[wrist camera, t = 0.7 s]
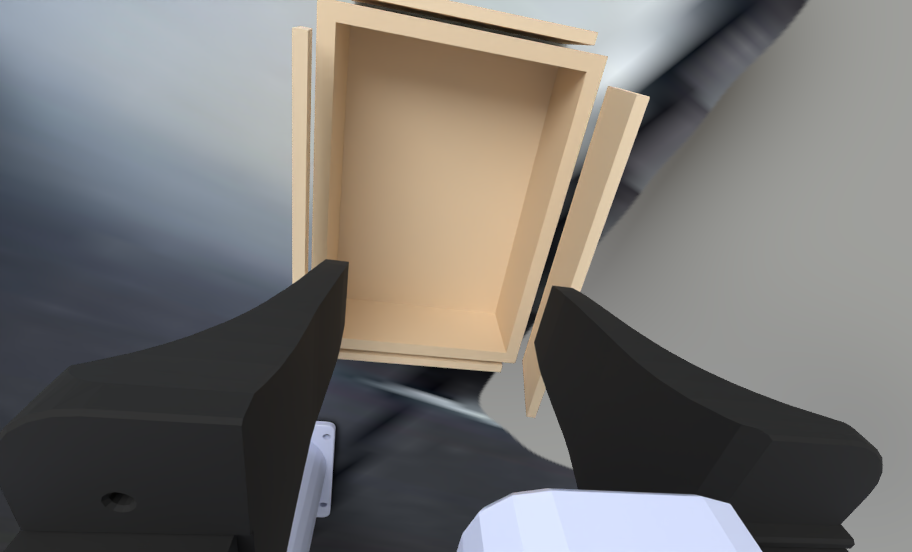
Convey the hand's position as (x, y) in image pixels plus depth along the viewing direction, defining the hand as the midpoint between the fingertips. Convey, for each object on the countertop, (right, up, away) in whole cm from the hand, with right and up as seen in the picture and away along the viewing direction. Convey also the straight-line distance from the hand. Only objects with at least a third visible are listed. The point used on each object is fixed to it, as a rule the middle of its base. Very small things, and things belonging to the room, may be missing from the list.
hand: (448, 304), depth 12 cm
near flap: (-5, +2, +3) cm, 6 cm away
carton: (-1, +5, +9) cm, 10 cm away
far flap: (+4, +1, +4) cm, 6 cm away
